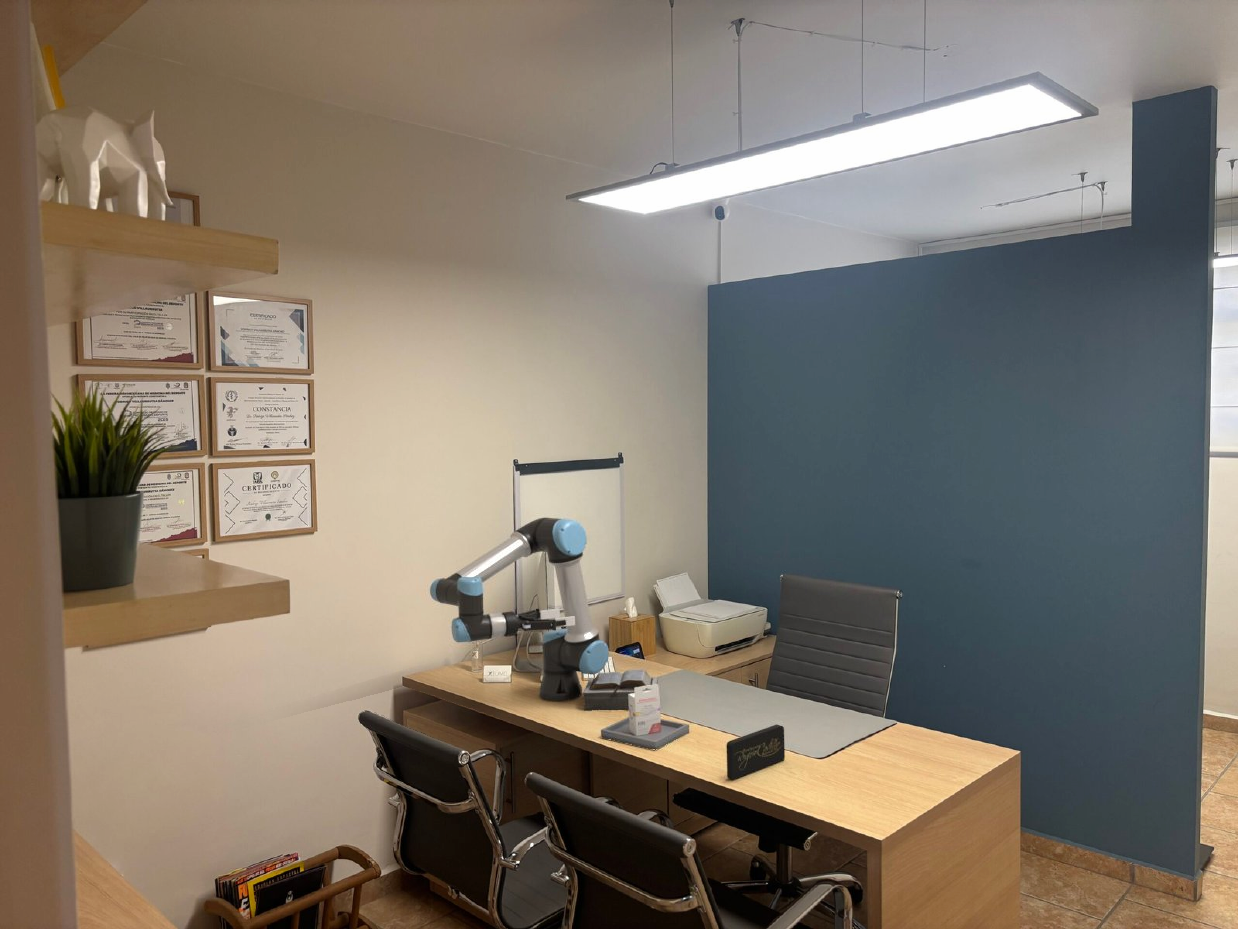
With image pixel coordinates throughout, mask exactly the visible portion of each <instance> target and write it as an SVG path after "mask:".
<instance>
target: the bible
mask: <svg viewBox="0 0 1238 929" xmlns="http://www.w3.org/2000/svg"><path fill="white" fill-rule="evenodd" d="M658 680H659V677H658V676H650V675H649V673H648V672H647V670H646V669H642V668H641V669H627V670H625V671H624V672H622V673H621V672H619V671H610V672H599V673H597V675H596V677H589V679H588V680H587V681H588V682H587V683H586V686H585V688H584V691H582V696H583V702H584V706H583V711H584V712H593V711H592V710H597V711H598V710H626V711H629V700H628V694H632V693H635V692H634V688H635V687H641V686H647V685H654V684H658ZM658 685H659V684H658ZM650 690H651V689H647V688H646V689H645V690H643V691H642V692H645V691H650Z"/></svg>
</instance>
